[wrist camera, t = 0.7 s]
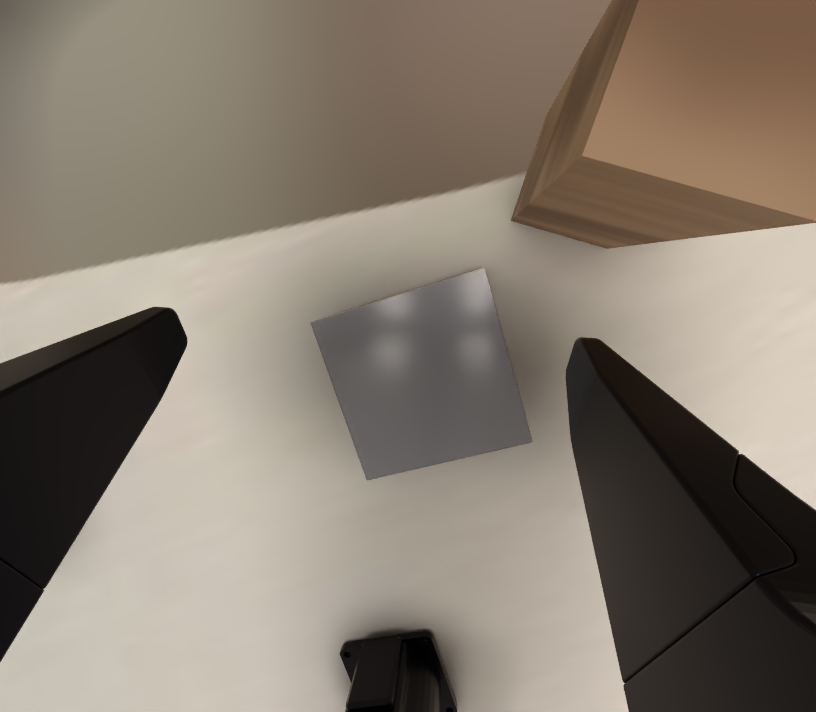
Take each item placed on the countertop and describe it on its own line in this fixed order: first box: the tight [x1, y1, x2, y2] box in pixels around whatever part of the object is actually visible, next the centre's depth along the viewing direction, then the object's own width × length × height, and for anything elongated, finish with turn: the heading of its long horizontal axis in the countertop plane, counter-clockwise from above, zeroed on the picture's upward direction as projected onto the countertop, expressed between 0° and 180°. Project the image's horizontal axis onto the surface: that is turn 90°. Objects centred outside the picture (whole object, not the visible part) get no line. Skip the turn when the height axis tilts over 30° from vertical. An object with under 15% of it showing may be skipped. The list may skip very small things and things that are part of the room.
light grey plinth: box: [311, 268, 532, 480], centre depth 22 cm, size 9×9×2 cm
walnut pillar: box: [511, 0, 816, 248], centre depth 14 cm, size 5×5×12 cm
